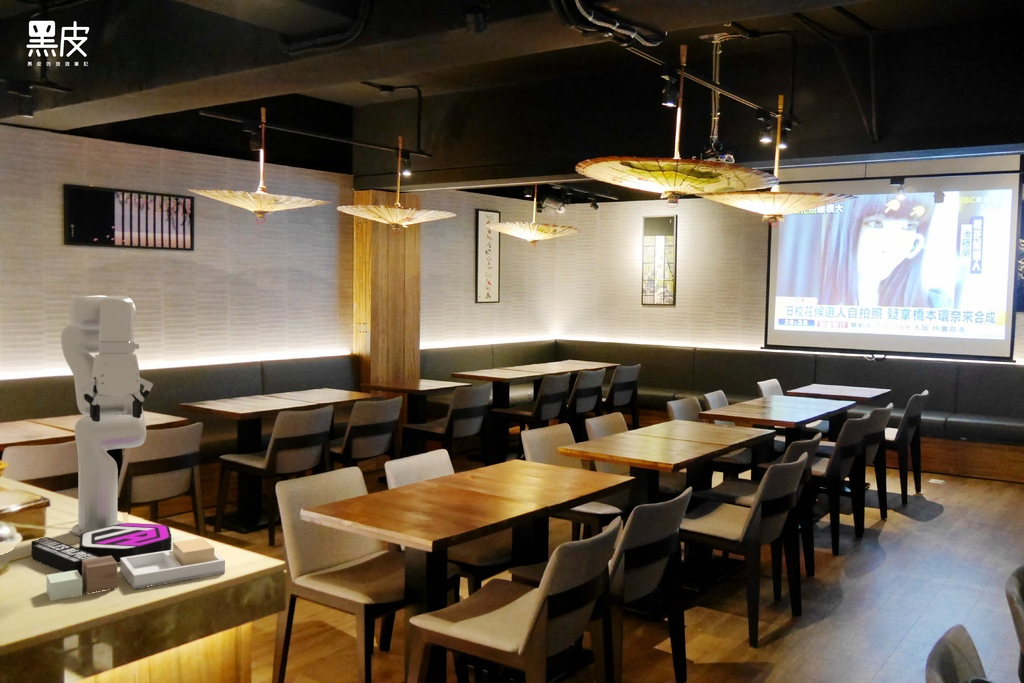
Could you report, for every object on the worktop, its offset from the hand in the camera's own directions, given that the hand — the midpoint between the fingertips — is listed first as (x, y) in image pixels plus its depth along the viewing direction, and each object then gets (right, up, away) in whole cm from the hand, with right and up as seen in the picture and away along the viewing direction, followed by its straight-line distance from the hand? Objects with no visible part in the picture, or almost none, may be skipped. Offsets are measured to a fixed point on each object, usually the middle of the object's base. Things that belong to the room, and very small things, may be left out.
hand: (116, 419), depth 201 cm
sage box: (-2, -36, -20) cm, 42 cm away
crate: (+16, -36, -5) cm, 39 cm away
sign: (-4, -35, +7) cm, 36 cm away
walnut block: (+4, -36, -16) cm, 40 cm away
